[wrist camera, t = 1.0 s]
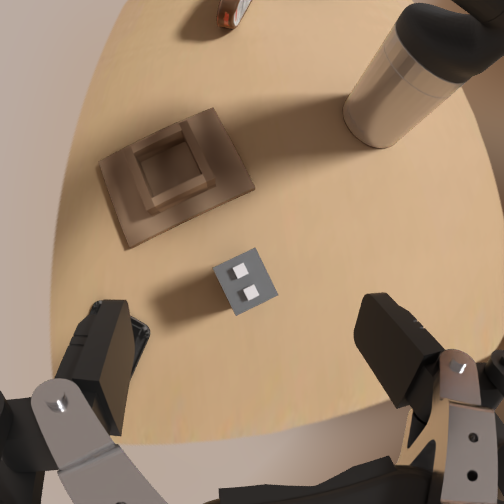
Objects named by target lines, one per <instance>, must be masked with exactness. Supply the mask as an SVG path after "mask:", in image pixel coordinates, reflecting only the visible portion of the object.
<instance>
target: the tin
mask: <svg viewBox="0 0 504 504" xmlns="http://www.w3.org/2000/svg"><path fill="white" fill-rule="evenodd" d="M251 1H252V0H221V1H220V4H219V8H218V13H217V25H218V26H219V27H226V28H231V29H234V28H236V27H237V26H238V24H239V23H240V21H241V19H242V17H243V16H244V14H245V12H246V10H247V8H248V7H249V5H250V3H251Z"/></svg>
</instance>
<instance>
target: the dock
mask: <svg viewBox="0 0 504 504" xmlns="http://www.w3.org/2000/svg"><path fill="white" fill-rule="evenodd" d="M99 165H100V168H101V171H102V174H103V177H104V180H105V183H106V186H107V189H108V192H109V195H110V198H111V200H112V203H113V206H114V209H115V211H116V214H117V217H118V219H119V222H120V225H121V227H122V230H123V233H124V235H125V238H126V240H127V243H128V245H129V247H130V248H134V247H136V246H138V245H140V244H142V243H144V242H146V241H148V240H149V239H151V238H153V237H155V236H157V235H159V234H162V233H164V232H166V231H168V230H170V229H172V228H174V227H176V226H178V225H180V224H182V223H184V222H186V221H188V220H190V219H192V218H194V217H197V216H199V215H201V214H203V213H205V212H207V211H209V210H211V209H214V208H216V207H218V206H220V205H222V204H224V203H227V202H229V201H231V200H233V199H235V198H238V197H240V196H242V195H244V194H246V193H249V192H251V191H253V190H255V186H254V184H253V182H252V180H251V178H250V176H249V174H248V172H247V170H246V168H245V166H244V164H243V163H242V161H241V159H240V157H239V155H238V153H237V151H236V149H235V147H234V145H233V143H232V141H231V140H230V138H229V136H228V134H227V132H226V130H225V128H224V126H223V125H222V123H221V121H220V119H219V117H218V115H217V113H216V111H215V110H214V108H211V109H208V110H206V111H203V112H201V113H198V114H196V115H193V116H191V117H189V118H186V119H184V120H182V121H179V122H177V123H175V124H173V125H170V126H168V127H166V128H164V129H162V130H159V131H157V132H155V133H153V134H151V135H149V136H147V137H145V138H143V139H141V140H139V141H137V142H135V143H133V144H131V145H129V146H127V147H125V148H123V149H121V150H119V151H117V152H115V153H113V154H112V155H110V156H108V157H106V158H104V159H103V160H101V161H99Z"/></svg>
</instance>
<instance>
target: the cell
mask: <svg viewBox="0 0 504 504" xmlns="http://www.w3.org/2000/svg"><path fill="white" fill-rule="evenodd" d="M213 270H214V272H215V274H216V276H217V279H218V281H219V283H220V285H221V287H222V289H223V291H224V293H225V295H226V297H227V299H228V301H229V303H230V305H231V307H232V309H233V311H234V313H235V315H236V316H237V315H239V314H241V313H243V312H245V311H247V310H249V309H251V308H253V307H255V306H257V305H259V304H261V303H263V302H265V301H267V300H269V299H271V298H273V297H275V296H277V295H278V293H277V291H276V289H275V287H274V285H273V283H272V281H271V279H270V277H269V275H268V273H267V271H266V269H265V266H264V264H263V262H262V260H261V258H260V256H259V254H258V252H257V250H256V248H253V249H251V250H249V251H247V252H245V253H243V254H241V255H238V256H236V257H234V258H232V259H230V260H228V261H226V262H224V263H222V264H220V265H218V266H216V267H213Z"/></svg>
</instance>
